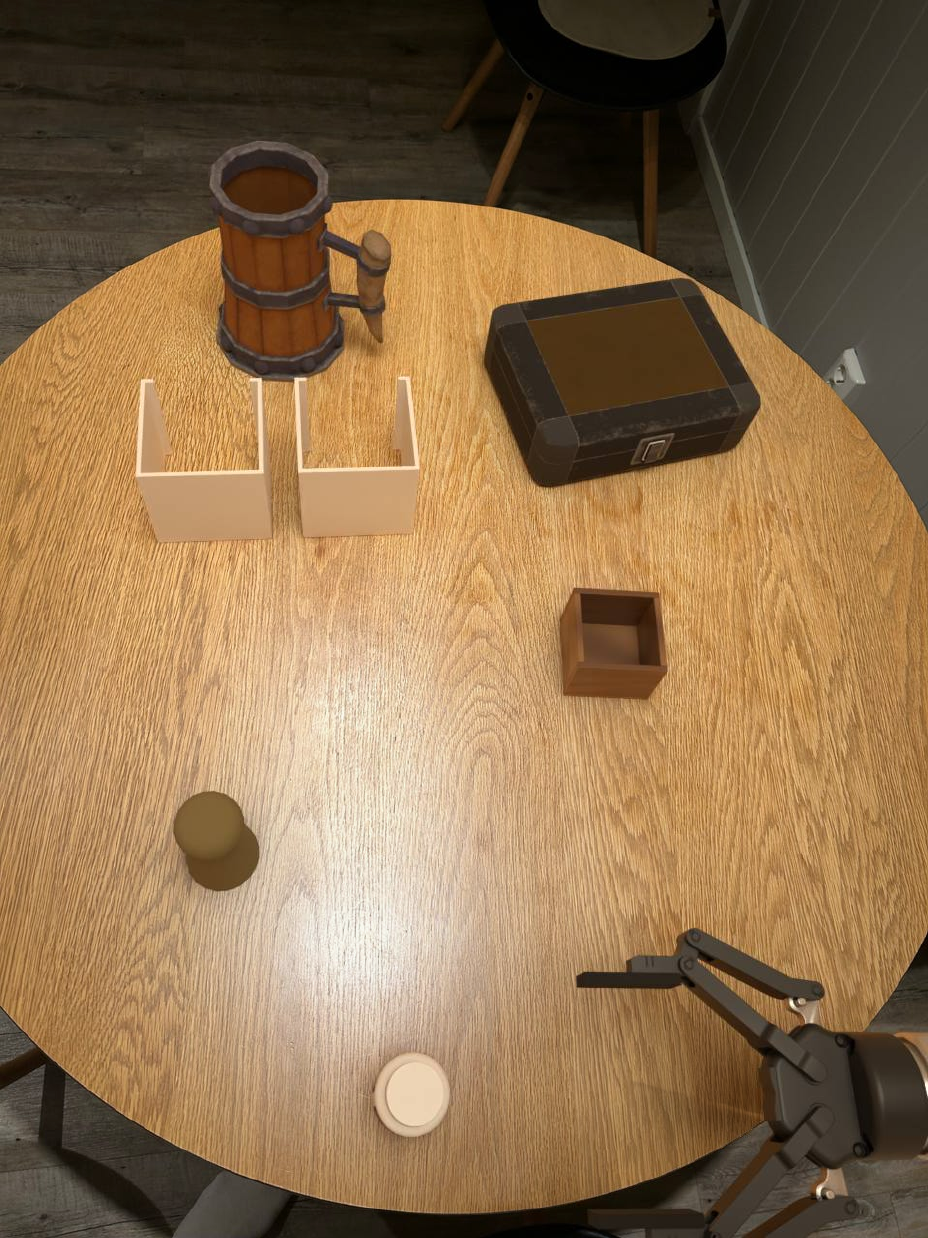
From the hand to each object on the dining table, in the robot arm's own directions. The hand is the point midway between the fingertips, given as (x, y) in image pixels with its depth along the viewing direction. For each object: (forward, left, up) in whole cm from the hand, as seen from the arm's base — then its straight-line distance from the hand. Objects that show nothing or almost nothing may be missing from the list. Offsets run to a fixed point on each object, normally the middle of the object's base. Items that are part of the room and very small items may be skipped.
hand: (585, 1093), depth 60 cm
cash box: (+70, -10, -15) cm, 72 cm away
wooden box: (+38, -7, -15) cm, 42 cm away
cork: (+18, +27, -15) cm, 36 cm away
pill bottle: (0, +11, -15) cm, 19 cm away
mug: (+76, +25, -15) cm, 81 cm away
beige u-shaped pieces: (+55, +25, -15) cm, 62 cm away
